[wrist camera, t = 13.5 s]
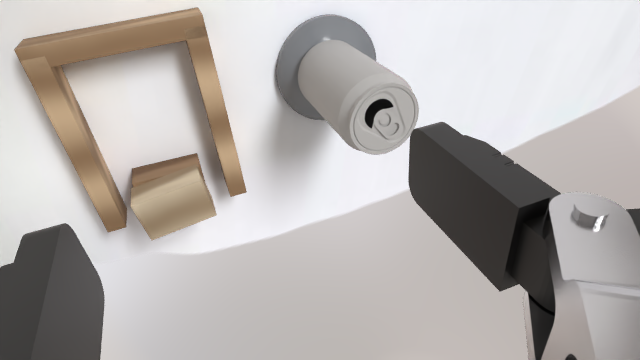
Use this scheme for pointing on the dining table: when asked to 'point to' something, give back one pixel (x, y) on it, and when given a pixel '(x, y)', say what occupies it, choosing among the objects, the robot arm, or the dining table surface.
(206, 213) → the birch offcut
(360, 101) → the beverage can
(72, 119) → the frame
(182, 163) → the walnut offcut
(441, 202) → the robot arm
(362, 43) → the slate coaster
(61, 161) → the dining table surface
